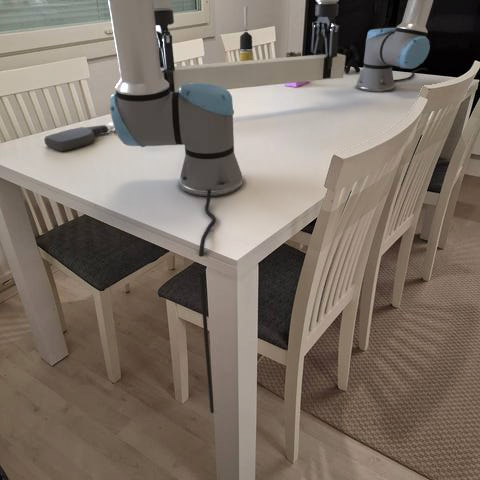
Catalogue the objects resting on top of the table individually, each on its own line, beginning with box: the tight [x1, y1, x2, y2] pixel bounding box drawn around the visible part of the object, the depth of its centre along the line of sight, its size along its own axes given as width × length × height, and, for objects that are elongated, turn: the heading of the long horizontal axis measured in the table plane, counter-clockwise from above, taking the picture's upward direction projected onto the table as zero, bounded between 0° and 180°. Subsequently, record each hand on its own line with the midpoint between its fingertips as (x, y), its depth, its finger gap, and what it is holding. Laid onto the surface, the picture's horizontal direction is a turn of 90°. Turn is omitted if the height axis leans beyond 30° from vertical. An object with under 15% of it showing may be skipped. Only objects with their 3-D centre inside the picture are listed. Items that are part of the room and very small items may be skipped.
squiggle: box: [337, 45, 361, 74], centre depth 214 cm, size 11×10×15 cm
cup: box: [285, 51, 302, 58], centre depth 220 cm, size 8×7×8 cm
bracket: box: [284, 81, 310, 88], centre depth 196 cm, size 13×6×7 cm, turn 143°
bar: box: [161, 53, 346, 92], centre depth 148 cm, size 71×5×7 cm, turn 112°
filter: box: [239, 6, 253, 61], centre depth 196 cm, size 6×6×30 cm
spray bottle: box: [44, 121, 116, 152], centre depth 139 cm, size 3×11×25 cm
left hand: (168, 91), depth 141 cm, fingers closed on bar, 5 cm apart
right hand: (322, 76), depth 159 cm, fingers closed on bar, 5 cm apart
